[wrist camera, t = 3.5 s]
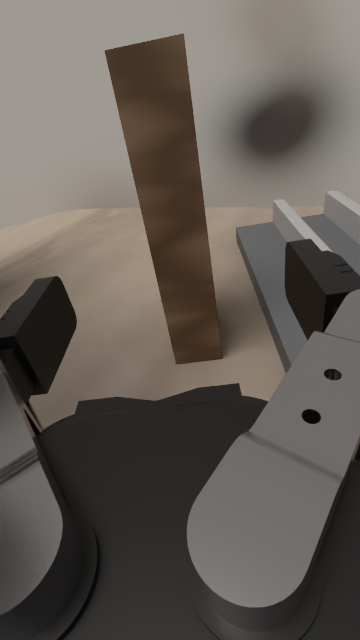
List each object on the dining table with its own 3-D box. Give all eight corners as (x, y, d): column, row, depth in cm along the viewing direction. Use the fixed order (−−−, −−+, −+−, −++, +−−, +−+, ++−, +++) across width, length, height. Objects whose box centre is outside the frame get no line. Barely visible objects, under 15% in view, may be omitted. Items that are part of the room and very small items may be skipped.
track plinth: (293, 393, 18) (296, 340, 16) (236, 241, 36) (234, 207, 34) (577, 361, 17) (620, 299, 15) (370, 220, 35) (376, 183, 33)
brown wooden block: (176, 364, 21) (104, 50, 12) (176, 320, 26) (123, 60, 17) (222, 358, 21) (183, 33, 12) (215, 314, 25) (182, 47, 16)
